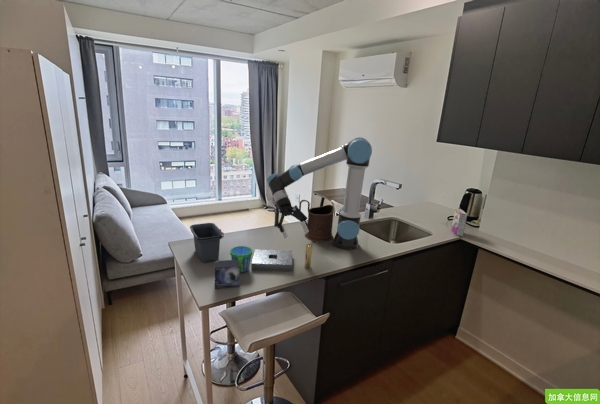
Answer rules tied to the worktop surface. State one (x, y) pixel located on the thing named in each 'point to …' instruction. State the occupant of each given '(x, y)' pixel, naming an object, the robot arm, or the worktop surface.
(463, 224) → the candy bar box
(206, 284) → the worktop surface
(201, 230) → the storage bin
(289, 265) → the plate
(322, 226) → the brown metal pitcher
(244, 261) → the snack cup
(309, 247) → the brass pin
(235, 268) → the small box
